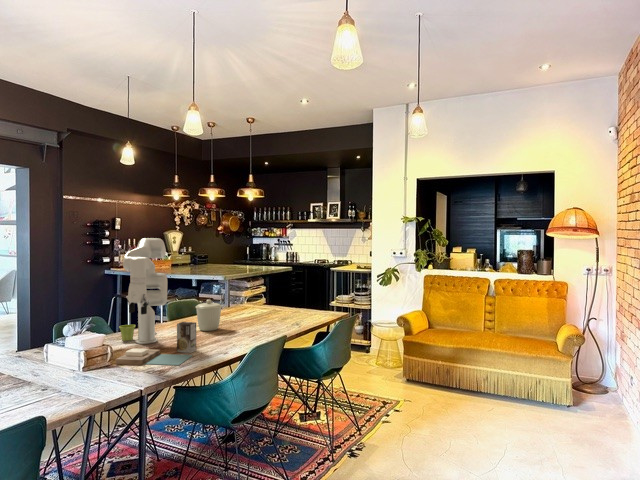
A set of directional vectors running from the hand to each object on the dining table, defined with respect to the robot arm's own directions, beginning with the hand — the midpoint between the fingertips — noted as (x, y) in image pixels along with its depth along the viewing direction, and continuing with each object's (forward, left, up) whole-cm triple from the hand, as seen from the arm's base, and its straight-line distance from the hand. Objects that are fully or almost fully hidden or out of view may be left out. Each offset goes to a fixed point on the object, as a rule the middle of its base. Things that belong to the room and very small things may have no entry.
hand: (137, 313), depth 232 cm
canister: (-74, +13, -25) cm, 79 cm away
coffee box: (-18, +20, -25) cm, 36 cm away
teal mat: (0, +18, -24) cm, 30 cm away
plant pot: (-39, -27, -25) cm, 53 cm away
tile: (0, 0, -22) cm, 22 cm away
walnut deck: (0, +1, -24) cm, 24 cm away
